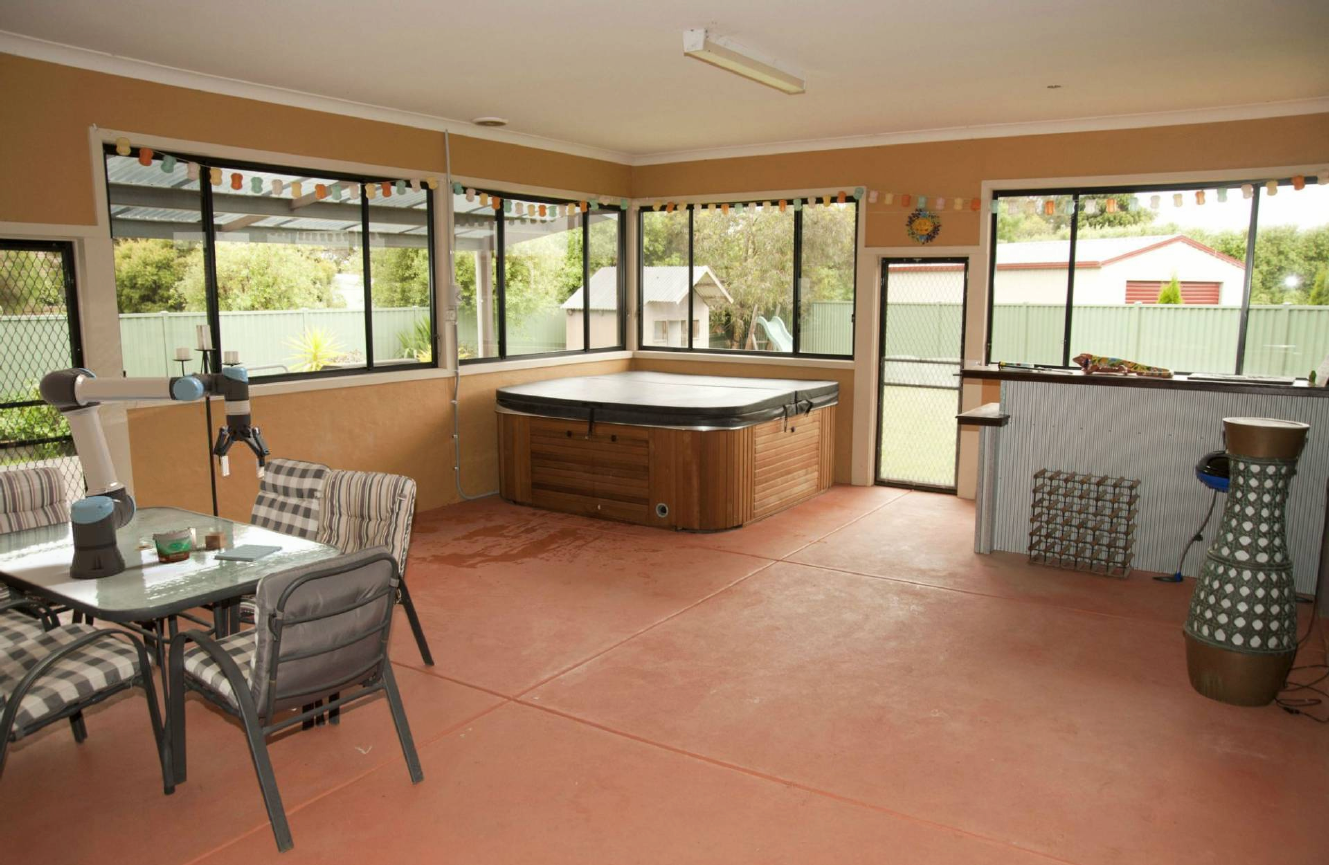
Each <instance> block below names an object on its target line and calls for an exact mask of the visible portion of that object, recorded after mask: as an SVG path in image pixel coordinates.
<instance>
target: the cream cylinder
mask: <svg viewBox="0 0 1329 865" xmlns="http://www.w3.org/2000/svg"><path fill="white" fill-rule="evenodd" d="M187 529H188V527H186V528H181V529H179V530H178V531H182V530H187ZM190 529H191V531H192V535H191V536H190V552H191V551H195V549H196V550H197V549H198V545H197V535H196V528H195V527H190Z"/></svg>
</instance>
